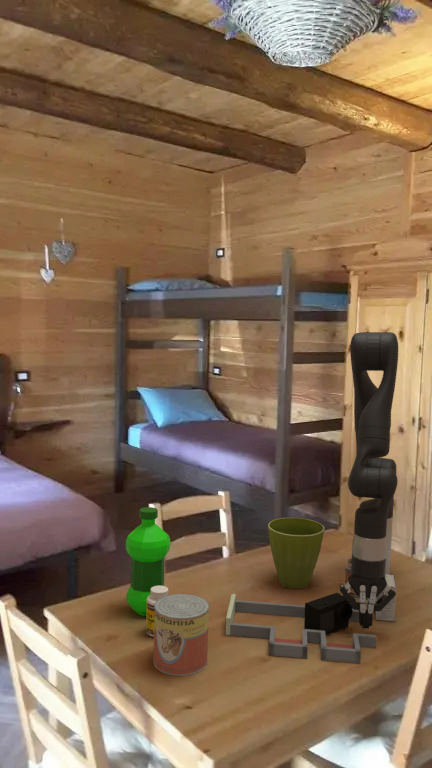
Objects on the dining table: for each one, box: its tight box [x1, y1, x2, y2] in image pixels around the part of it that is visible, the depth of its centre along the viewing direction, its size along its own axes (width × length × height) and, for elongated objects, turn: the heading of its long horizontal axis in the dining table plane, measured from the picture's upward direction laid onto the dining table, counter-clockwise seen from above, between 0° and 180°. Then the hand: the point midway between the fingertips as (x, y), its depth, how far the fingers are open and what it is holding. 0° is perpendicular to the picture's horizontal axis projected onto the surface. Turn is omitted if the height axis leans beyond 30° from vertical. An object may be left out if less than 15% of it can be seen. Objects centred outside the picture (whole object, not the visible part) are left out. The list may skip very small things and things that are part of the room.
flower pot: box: [267, 517, 325, 590], centre depth 175 cm, size 15×15×16 cm
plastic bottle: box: [125, 506, 171, 617], centre depth 156 cm, size 10×10×25 cm
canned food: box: [152, 593, 210, 677], centre depth 134 cm, size 11×11×12 cm
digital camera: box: [303, 592, 354, 636], centre depth 149 cm, size 10×5×7 cm, turn 127°
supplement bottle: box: [145, 585, 169, 638], centre depth 146 cm, size 6×6×10 cm
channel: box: [225, 593, 377, 664], centre depth 147 cm, size 20×33×4 cm, turn 83°
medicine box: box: [374, 574, 397, 622], centre depth 159 cm, size 8×4×9 cm, turn 168°
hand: (365, 626), depth 149 cm, fingers closed
